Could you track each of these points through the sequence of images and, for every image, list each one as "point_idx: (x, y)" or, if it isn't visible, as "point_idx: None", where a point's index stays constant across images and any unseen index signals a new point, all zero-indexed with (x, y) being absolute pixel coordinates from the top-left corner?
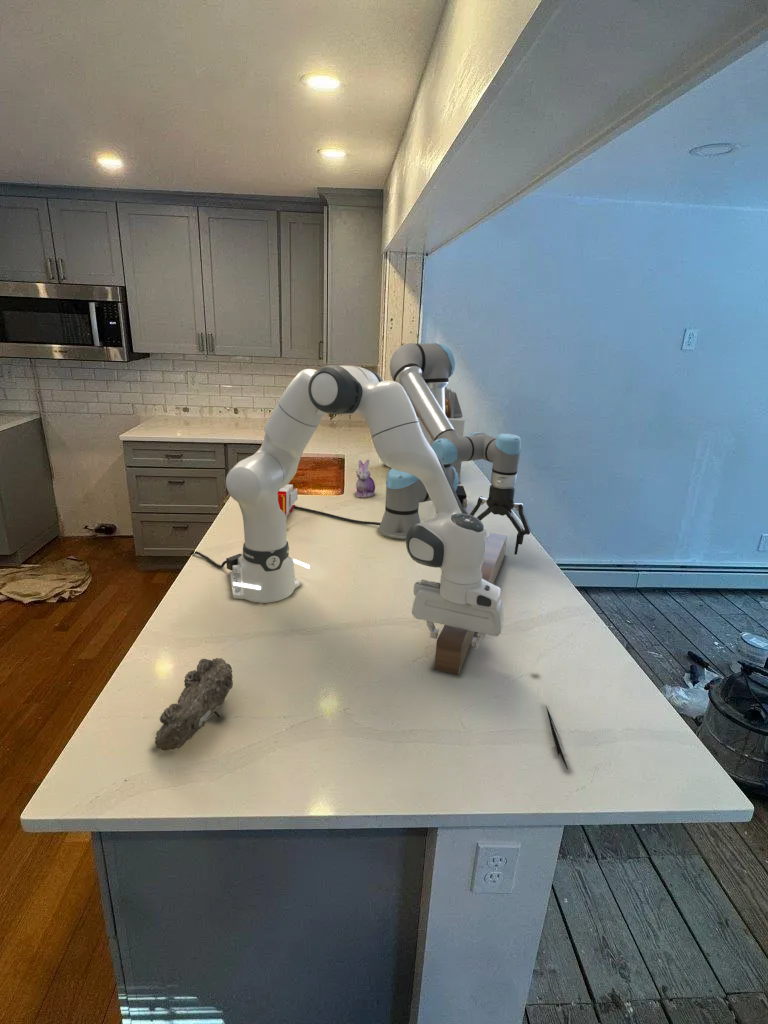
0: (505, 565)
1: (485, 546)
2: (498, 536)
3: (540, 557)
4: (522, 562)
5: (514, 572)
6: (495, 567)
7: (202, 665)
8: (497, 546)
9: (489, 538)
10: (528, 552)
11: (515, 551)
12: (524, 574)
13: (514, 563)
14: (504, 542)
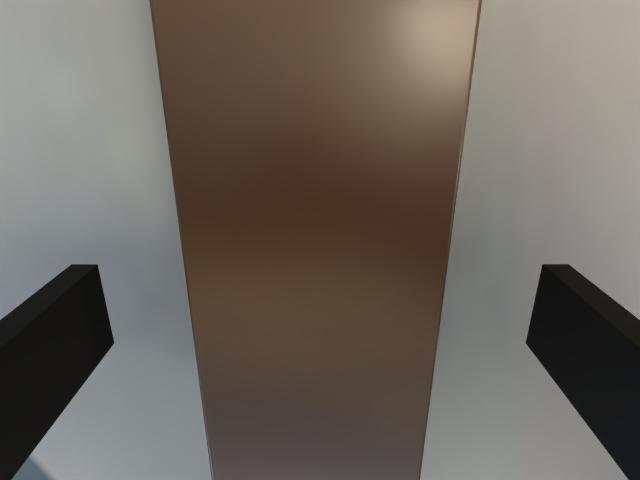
0: None
1: (437, 62)
2: (303, 478)
3: None
4: None
5: (100, 106)
6: None
7: None
8: (245, 155)
9: (403, 387)
10: (121, 475)
11: (68, 280)
12: (10, 102)
13: (154, 280)
14: (202, 369)
